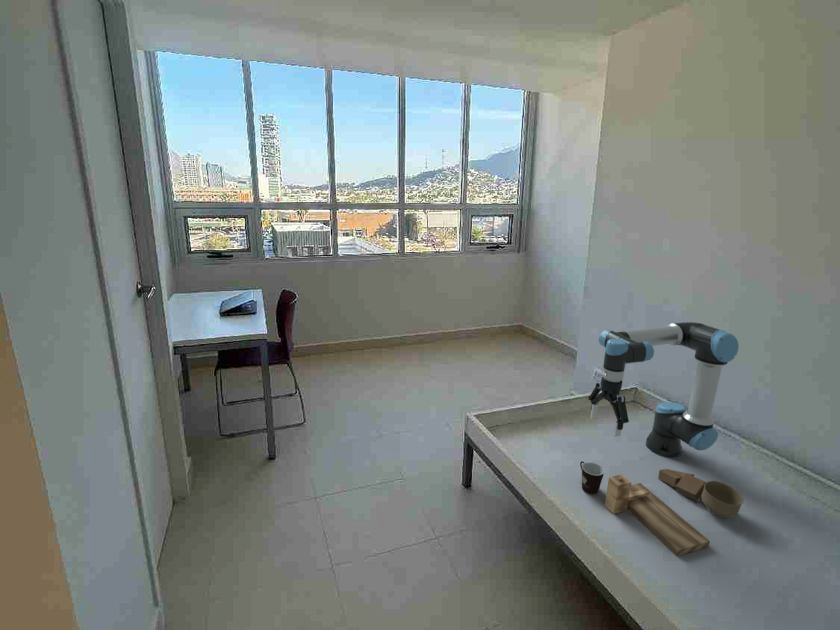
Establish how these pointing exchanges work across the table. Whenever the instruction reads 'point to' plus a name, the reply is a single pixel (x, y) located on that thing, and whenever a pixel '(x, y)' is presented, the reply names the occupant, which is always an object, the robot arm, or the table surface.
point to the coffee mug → (591, 477)
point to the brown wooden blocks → (683, 483)
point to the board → (666, 523)
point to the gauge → (621, 494)
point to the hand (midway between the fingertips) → (604, 426)
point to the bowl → (721, 499)
